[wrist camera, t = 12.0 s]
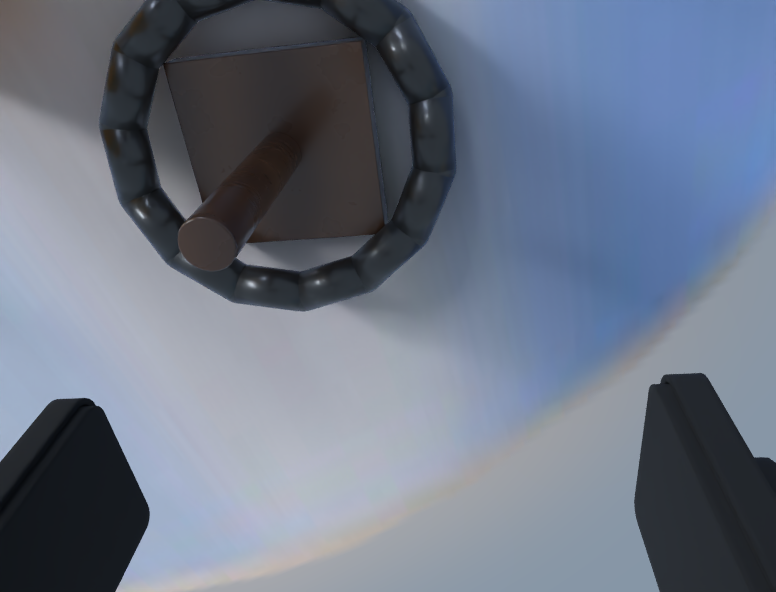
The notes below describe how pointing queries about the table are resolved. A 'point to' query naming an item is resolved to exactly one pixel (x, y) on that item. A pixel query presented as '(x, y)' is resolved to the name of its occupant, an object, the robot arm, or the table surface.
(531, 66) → the table surface
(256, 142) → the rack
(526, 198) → the table surface
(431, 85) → the beaded ring
